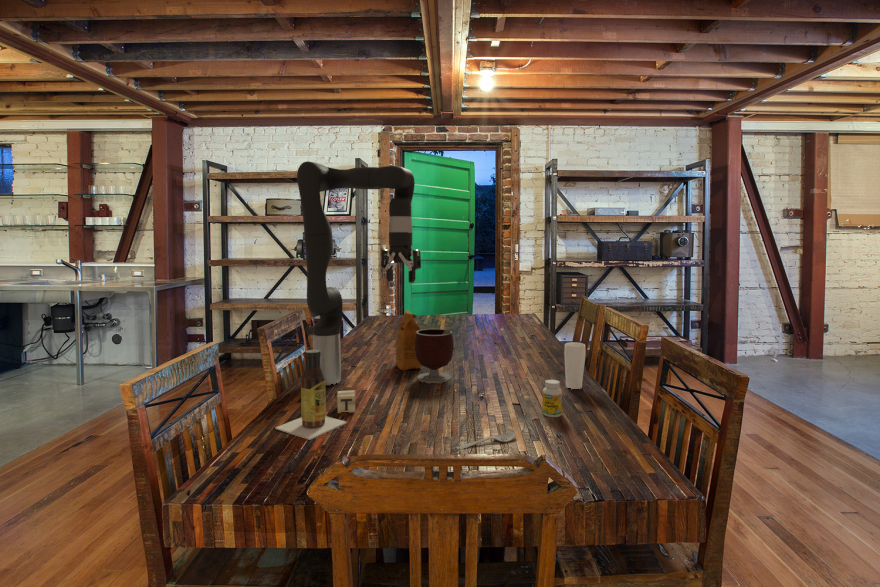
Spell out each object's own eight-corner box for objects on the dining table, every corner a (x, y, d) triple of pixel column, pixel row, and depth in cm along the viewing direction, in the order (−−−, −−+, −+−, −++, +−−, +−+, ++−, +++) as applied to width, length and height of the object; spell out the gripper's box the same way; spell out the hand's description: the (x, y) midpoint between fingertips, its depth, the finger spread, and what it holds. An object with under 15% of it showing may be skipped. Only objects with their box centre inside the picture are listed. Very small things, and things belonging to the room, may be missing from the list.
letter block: (338, 407, 139) (337, 391, 139) (355, 406, 140) (354, 390, 140) (337, 413, 134) (337, 396, 134) (355, 412, 135) (355, 395, 135)
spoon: (520, 442, 116) (520, 435, 116) (444, 457, 108) (444, 450, 107) (511, 435, 120) (511, 429, 120) (437, 449, 111) (437, 443, 111)
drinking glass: (585, 386, 160) (587, 343, 158) (582, 392, 154) (584, 347, 152) (565, 383, 163) (566, 341, 161) (561, 389, 156) (563, 345, 155)
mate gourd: (408, 381, 165) (408, 325, 163) (423, 371, 178) (423, 319, 176) (450, 386, 160) (450, 328, 157) (462, 375, 173) (462, 322, 170)
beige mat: (275, 429, 123) (275, 427, 123) (313, 413, 134) (313, 412, 134) (309, 440, 116) (309, 438, 116) (346, 423, 127) (346, 421, 127)
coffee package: (418, 362, 192) (417, 309, 190) (424, 370, 180) (424, 313, 178) (394, 363, 190) (393, 310, 187) (399, 371, 178) (398, 314, 175)
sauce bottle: (319, 430, 121) (317, 354, 119) (297, 428, 122) (294, 353, 120) (330, 420, 127) (328, 349, 125) (308, 419, 129) (306, 348, 126)
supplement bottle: (561, 412, 135) (562, 379, 134) (560, 418, 130) (561, 385, 129) (542, 410, 137) (543, 378, 136) (541, 416, 132) (542, 383, 131)
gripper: (375, 231, 150) (376, 281, 151) (411, 230, 142) (411, 283, 144) (390, 231, 156) (390, 280, 158) (425, 231, 149) (425, 282, 150)
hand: (400, 282), depth 151 cm, fingers open, 8 cm apart
